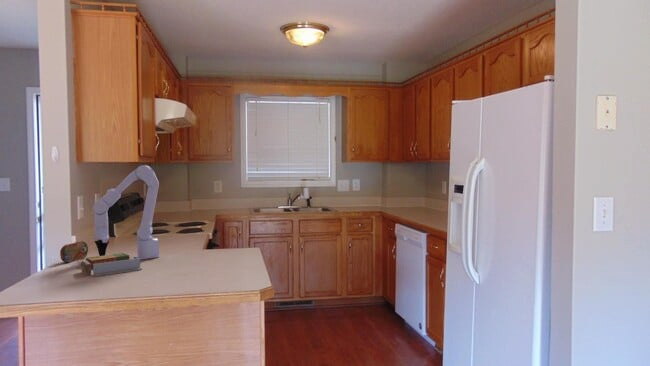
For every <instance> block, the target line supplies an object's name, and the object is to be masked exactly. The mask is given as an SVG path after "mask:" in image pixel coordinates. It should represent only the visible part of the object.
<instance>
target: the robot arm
mask: <svg viewBox="0 0 650 366" xmlns="http://www.w3.org/2000/svg"><path fill="white" fill-rule="evenodd" d="M138 180H141V181H144V183H145V184H146V186H147V191H146V197H145V202H144V207H143V212H142V216H141V217H142V218H141V221H140V226H139V228H138V229H137V230H136V236H137V238H136V250H137V251H136V252H137V253H136V254H137V255H134V258H135V259H137V258H140V261H141V260H146V259H154V258H160V244H159V239H158V238H157V237H155V238H154V236H152V234H153V231H154V229H153V219H154V213H155V207H156V202H157V197H158V192H159V188H160V187H159V186H160V182H159V180H158V178H157V175H156V173H155V170H154V169H153V168H152V167H151V166H149V165H147V164H144V165H139V166H137V168H136V169H134V170H133V171H132V172H130V173H128V175H127V176H126V177H125V178H124V179H122V181H121V182H120V183H119V184H118V185H117V186H116V188H110V189H107V190H106V191H105V192H106V193H105V194H104V195H103V196H102V197H99V198H98V201H96V202H95V203H94V204H93V206H92V209H93V212H94V218H93V219H94V236H91V239H92V240H94V239H95V240H94V244H95V245H96V248H97V253H98V256H104V255H106V254H107V247H108V246H109V243H110V241H109V238H110V235H109V216H108V215H109V214H108V211H109V208H111V207H113V205H115V204H116V202H117V201H118V200H119V199H120V198H121V197H122V196H121V195H122V194H121V193H122V192H124V191H125V190H126V189H127V188H128V187H129V186H130V185H132V184H133V183H134V182H135V181H138Z"/></svg>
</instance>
